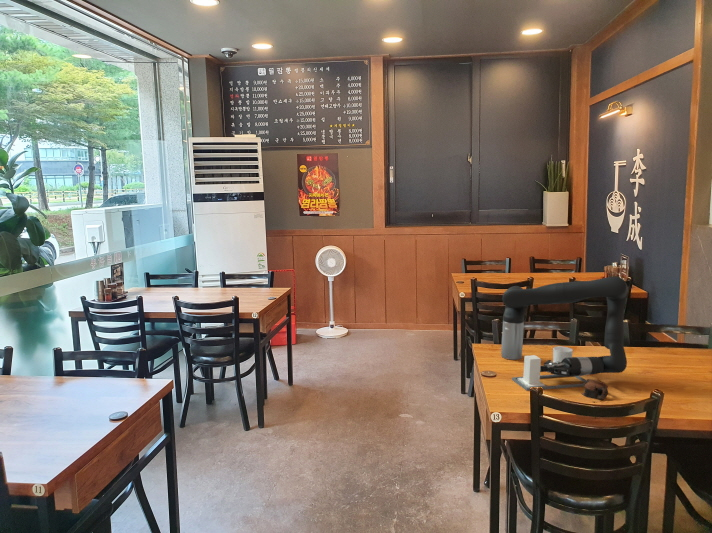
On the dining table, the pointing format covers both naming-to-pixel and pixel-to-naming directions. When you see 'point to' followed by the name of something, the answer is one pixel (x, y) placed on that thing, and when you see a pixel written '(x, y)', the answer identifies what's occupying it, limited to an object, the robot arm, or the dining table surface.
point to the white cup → (561, 353)
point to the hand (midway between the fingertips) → (537, 369)
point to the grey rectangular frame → (551, 386)
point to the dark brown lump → (593, 386)
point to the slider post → (531, 372)
